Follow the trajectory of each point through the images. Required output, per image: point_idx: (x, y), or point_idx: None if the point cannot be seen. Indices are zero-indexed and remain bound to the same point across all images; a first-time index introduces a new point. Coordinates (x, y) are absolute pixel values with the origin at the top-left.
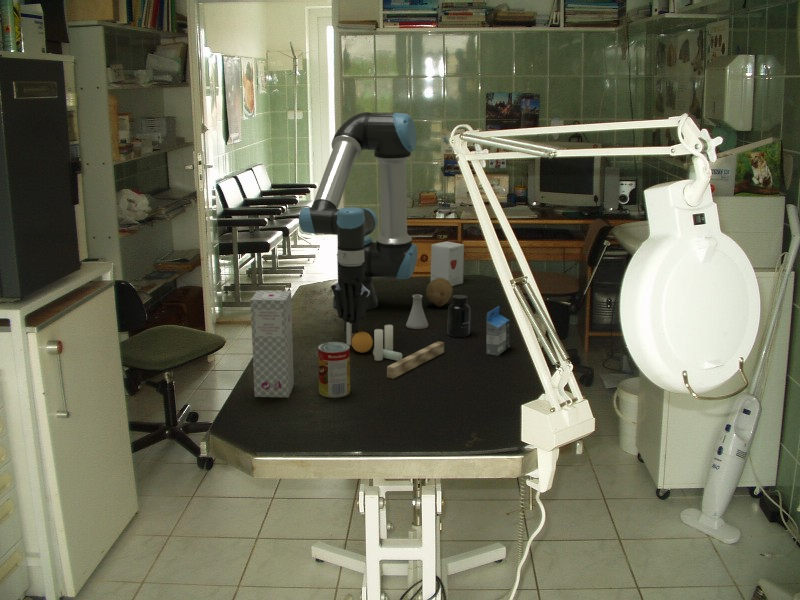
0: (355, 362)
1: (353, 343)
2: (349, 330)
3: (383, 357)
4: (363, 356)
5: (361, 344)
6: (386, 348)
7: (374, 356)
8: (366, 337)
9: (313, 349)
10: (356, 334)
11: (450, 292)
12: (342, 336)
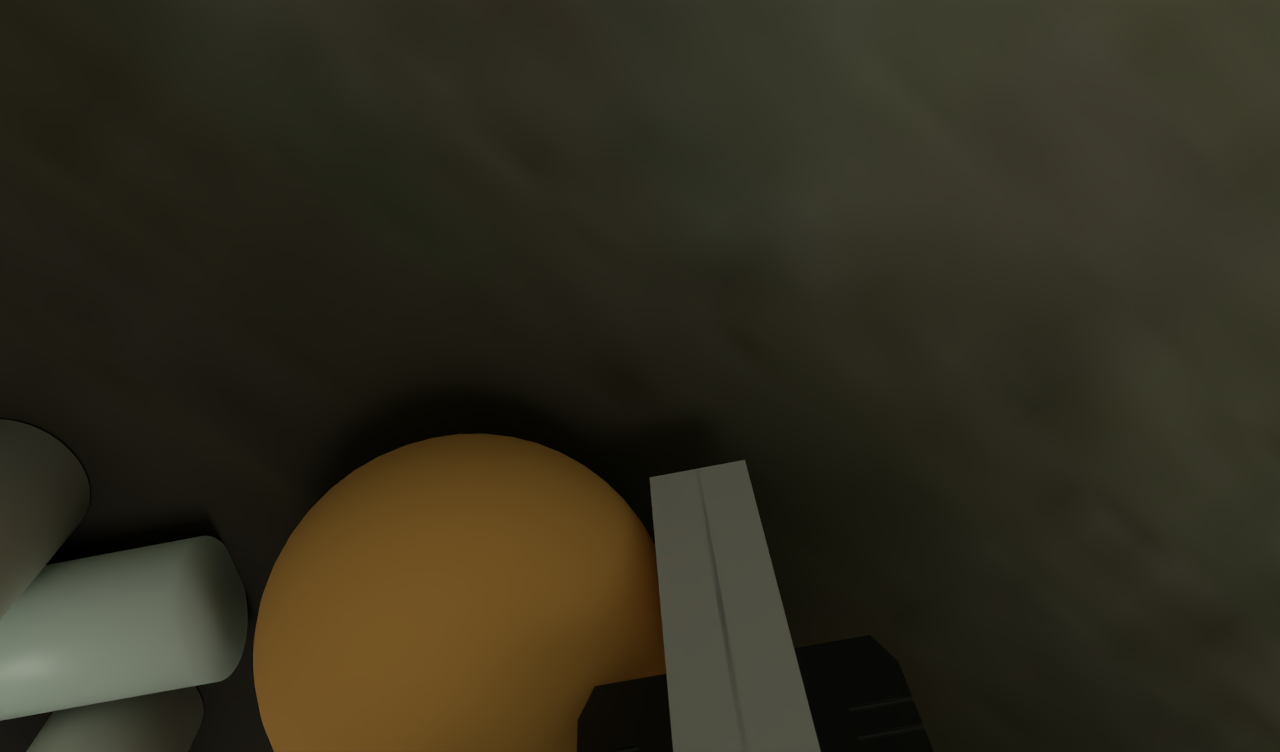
0: (90, 93)
1: (485, 470)
2: (700, 679)
3: None
4: (298, 407)
5: (307, 530)
6: (48, 745)
7: (2, 456)
8: (274, 724)
9: (1274, 8)
10: (494, 673)
11: None
12: (1240, 739)
